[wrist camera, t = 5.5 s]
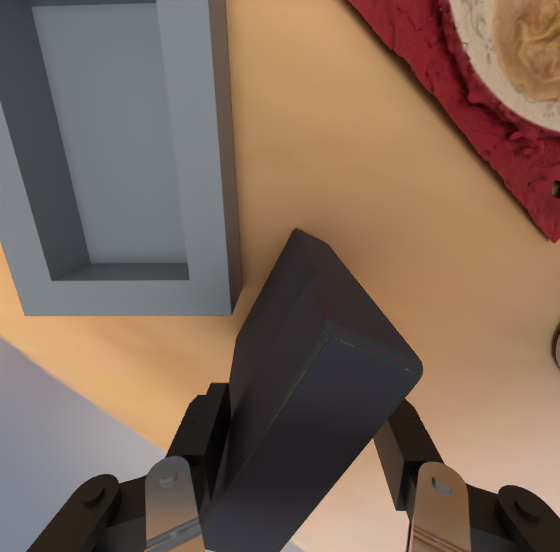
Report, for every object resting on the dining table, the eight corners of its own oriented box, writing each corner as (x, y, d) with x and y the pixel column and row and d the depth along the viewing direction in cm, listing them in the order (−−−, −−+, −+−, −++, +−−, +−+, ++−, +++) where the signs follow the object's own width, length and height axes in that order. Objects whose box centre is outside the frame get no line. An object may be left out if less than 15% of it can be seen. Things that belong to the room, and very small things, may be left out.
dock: (222, -43, 17) (198, -126, 12) (242, 288, 24) (231, 315, 19) (-8, -35, 18) (-117, -113, 13) (75, 288, 24) (24, 315, 20)
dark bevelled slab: (273, 353, 26) (284, 573, 12) (229, 336, 25) (185, 551, 11) (336, 247, 23) (451, 378, 9) (287, 222, 22) (329, 325, 8)
